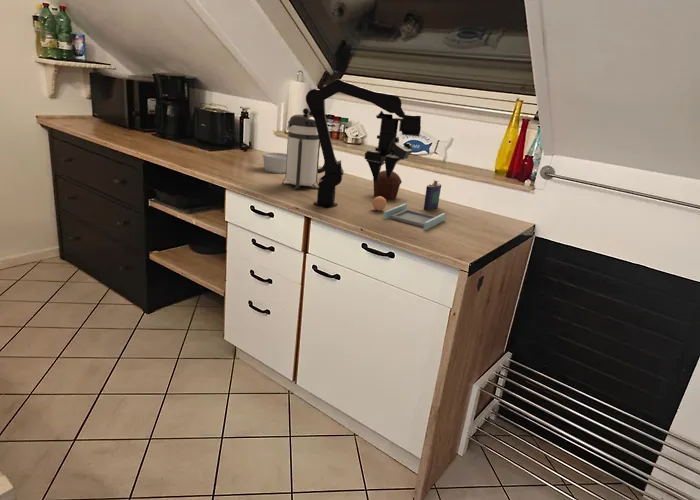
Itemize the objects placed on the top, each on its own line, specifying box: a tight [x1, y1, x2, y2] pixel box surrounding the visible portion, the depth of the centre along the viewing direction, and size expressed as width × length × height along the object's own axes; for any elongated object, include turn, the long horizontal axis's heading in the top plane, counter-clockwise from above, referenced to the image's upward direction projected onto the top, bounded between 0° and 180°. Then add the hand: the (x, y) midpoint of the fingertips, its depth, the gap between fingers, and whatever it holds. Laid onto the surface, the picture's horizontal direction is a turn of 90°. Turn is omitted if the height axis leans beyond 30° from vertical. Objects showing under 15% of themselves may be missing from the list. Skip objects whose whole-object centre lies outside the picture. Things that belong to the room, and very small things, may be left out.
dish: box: [390, 208, 437, 228], centre depth 168 cm, size 12×12×1 cm
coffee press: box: [282, 107, 325, 191], centre depth 192 cm, size 17×16×30 cm
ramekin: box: [262, 151, 287, 174], centre depth 218 cm, size 13×13×7 cm
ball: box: [371, 196, 387, 211], centre depth 174 cm, size 5×5×5 cm
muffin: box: [372, 169, 402, 200], centre depth 193 cm, size 12×11×10 cm
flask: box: [423, 179, 442, 212], centre depth 183 cm, size 9×3×11 cm, turn 144°
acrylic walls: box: [382, 203, 447, 231], centre depth 168 cm, size 16×16×2 cm
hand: (382, 179), depth 171 cm, fingers open, 9 cm apart
